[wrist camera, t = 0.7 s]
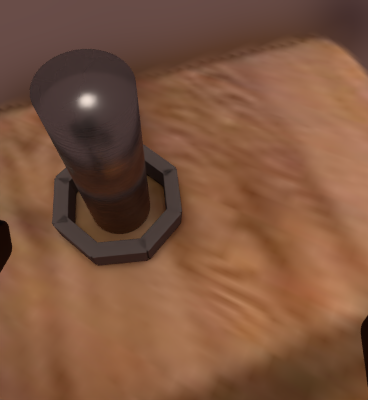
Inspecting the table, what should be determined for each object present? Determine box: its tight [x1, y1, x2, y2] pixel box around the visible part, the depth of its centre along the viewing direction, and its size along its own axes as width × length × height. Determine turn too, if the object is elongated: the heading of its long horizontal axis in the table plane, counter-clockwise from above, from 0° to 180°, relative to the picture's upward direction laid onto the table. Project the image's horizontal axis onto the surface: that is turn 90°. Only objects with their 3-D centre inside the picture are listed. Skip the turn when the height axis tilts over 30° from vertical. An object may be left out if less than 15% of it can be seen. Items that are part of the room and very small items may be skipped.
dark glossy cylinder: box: [30, 49, 150, 234], centre depth 20 cm, size 4×4×12 cm
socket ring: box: [52, 145, 182, 265], centre depth 24 cm, size 9×9×2 cm
